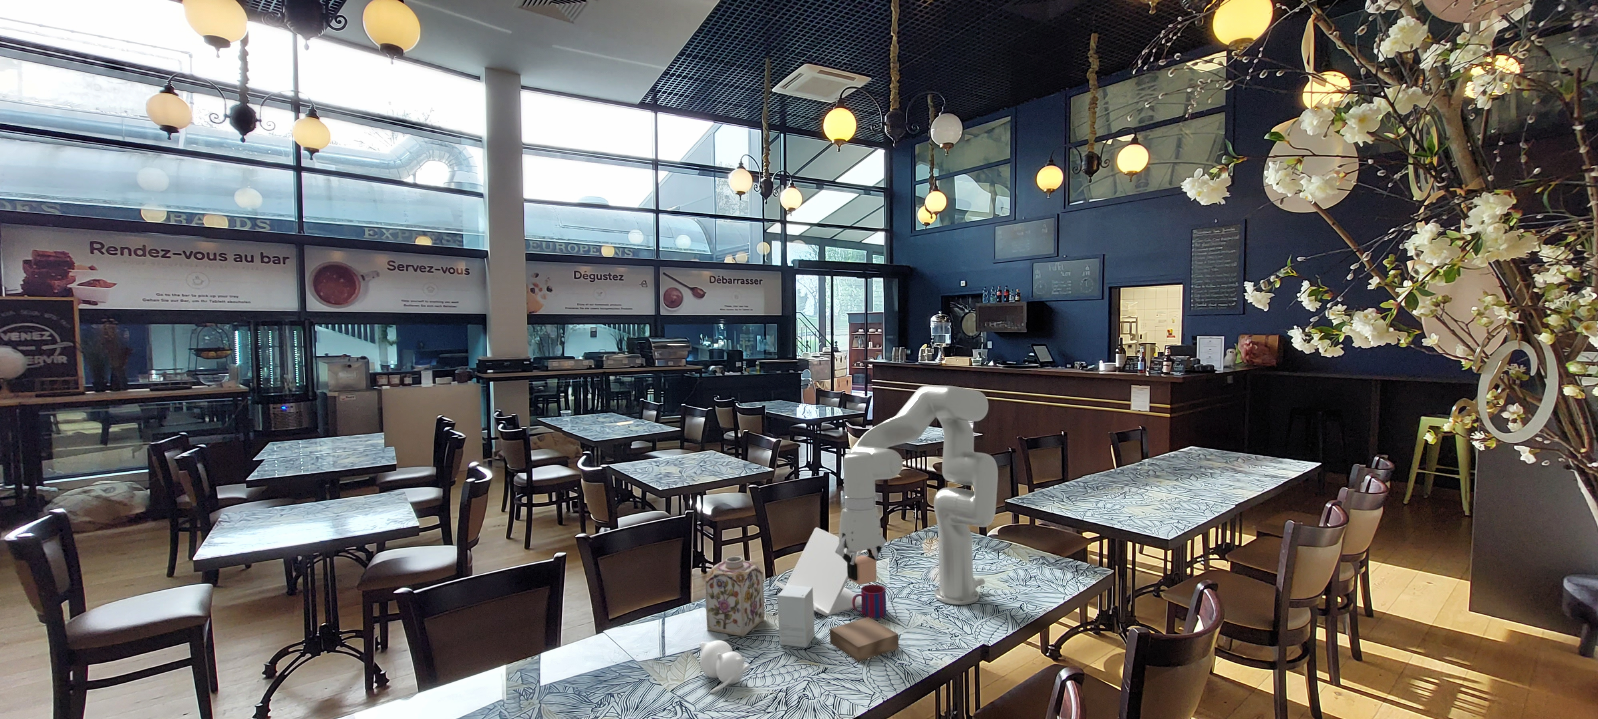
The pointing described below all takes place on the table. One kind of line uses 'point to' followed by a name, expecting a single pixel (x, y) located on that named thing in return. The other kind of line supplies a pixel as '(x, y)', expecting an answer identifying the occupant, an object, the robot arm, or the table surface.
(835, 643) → the walnut block
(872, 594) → the mug
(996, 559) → the table surface
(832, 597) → the tablet stand
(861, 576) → the terracotta cube
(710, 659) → the cat figurine
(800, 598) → the supplement box
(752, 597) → the decorative jar
